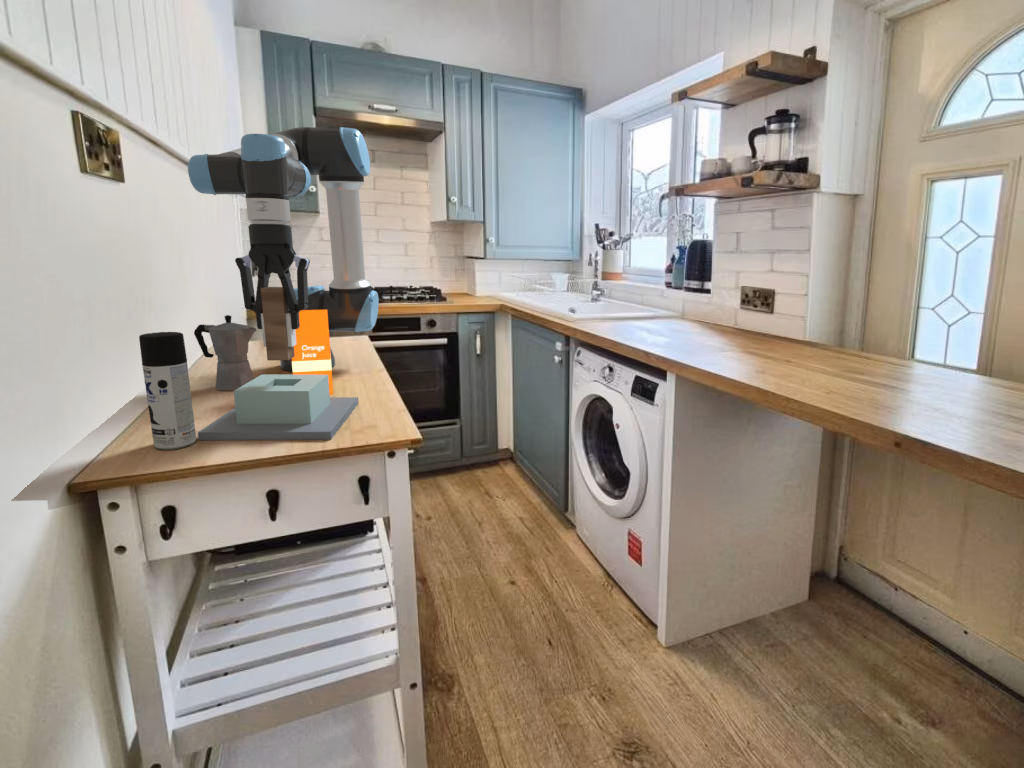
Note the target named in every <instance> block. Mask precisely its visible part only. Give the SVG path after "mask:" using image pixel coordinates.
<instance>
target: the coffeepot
mask: <svg viewBox="0 0 1024 768" xmlns="http://www.w3.org/2000/svg"><path fill="white" fill-rule="evenodd" d="M223 317H224V320H225V322H224V323H221V324H217V325H214V324H198V326H197V327H196V328H195V329H194V332H193V333H194V337H195V338H196V341H197V343H198V345H199V347H200V349H201V351H202V353H203V356H204V357H205V358H213V357H214V356H217V363H216V376H215V377H216V379H215V389H216V390H217V391H223V392H234V391H235V390H236V389H238V388H240V387H241V386H243V385H245V384H246V383H248V382H250V381H251V380H253V379H255V378H254V375H253V371H252V369H251V365H250V362H249V360H248V354H249V343H250V340H251V338H252V337H253V335H254V333H255V332H256V331H257V329H256V328H255V327H252V326H250V325H247V324H241V323H236V322H232V315H229V314H227V315H225V316H223ZM203 333H207V334H209V336H210V340H211V343H212V347H213V351H214V353H210V352H209V349H208V346H207V344H206V342H205V338H204V336H203ZM214 354H215V355H214Z"/></svg>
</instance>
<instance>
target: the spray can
mask: <svg viewBox="0 0 1024 768" xmlns="http://www.w3.org/2000/svg"><path fill="white" fill-rule="evenodd" d="M138 338H139V348H140V355H141V365H142V371H143V378H144V379H143V380H144V384H145V392H146V399H147V407H148V413H149V419H150V420H149V421H150V428H151V434H152V441H153V446H154V447H155V449H157V450H160V451H173V450H180V449H185V448H187V447H190V446H192V445H194V444H195V443H196V441H197V433H196V426H195V425H196V424H195V417H194V416H195V415H194V409H193V408H194V407H193V401H192V400H193V399H192V393H191V392H192V391H191V384H190V376H189V369H188V358H187V351H186V345H185V338H184V334H183V333H182V332H180V331H179V332H178V331H159V332H150V333H142V334H140V335H139V337H138Z"/></svg>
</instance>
